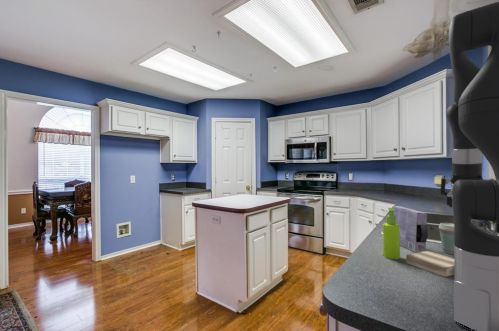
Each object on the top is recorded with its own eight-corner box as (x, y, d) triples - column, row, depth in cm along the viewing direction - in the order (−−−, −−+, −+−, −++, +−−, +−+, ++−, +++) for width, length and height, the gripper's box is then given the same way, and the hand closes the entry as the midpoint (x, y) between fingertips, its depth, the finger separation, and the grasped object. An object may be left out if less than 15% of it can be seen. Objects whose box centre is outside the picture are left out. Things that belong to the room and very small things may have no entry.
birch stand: (444, 276, 79) (444, 267, 80) (406, 262, 92) (406, 254, 92) (467, 270, 84) (467, 262, 84) (428, 258, 96) (427, 250, 96)
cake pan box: (429, 254, 101) (428, 212, 101) (417, 254, 101) (416, 212, 101) (400, 241, 120) (400, 205, 120) (390, 240, 120) (390, 205, 120)
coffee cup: (461, 251, 105) (461, 224, 105) (467, 257, 97) (466, 228, 98) (437, 248, 109) (436, 221, 109) (440, 253, 102) (440, 225, 102)
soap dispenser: (383, 258, 96) (383, 208, 96) (382, 253, 102) (382, 206, 103) (400, 261, 93) (400, 209, 94) (399, 255, 99) (398, 207, 100)
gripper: (439, 163, 83) (440, 208, 85) (498, 162, 74) (497, 213, 76) (440, 160, 89) (440, 203, 91) (494, 160, 80) (494, 207, 81)
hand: (466, 207), depth 83 cm, fingers open, 8 cm apart
